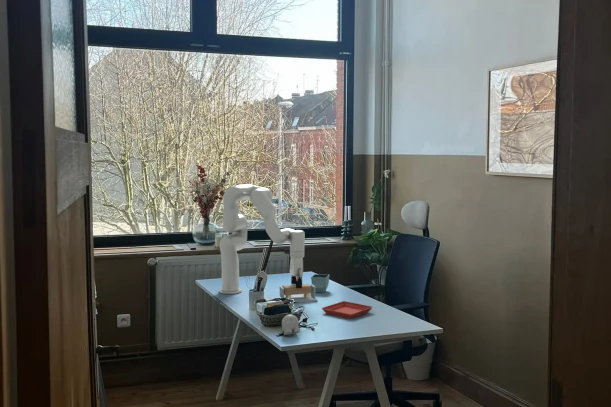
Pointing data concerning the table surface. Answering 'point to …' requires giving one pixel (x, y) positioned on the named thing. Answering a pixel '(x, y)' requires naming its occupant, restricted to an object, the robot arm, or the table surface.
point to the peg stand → (300, 298)
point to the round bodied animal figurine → (290, 325)
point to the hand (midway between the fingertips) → (296, 286)
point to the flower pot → (320, 282)
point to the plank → (296, 289)
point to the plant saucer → (347, 309)
